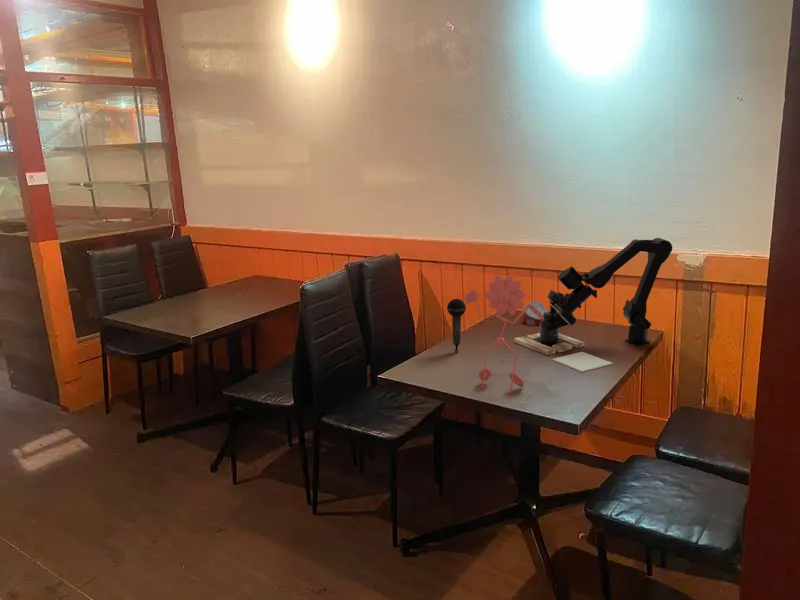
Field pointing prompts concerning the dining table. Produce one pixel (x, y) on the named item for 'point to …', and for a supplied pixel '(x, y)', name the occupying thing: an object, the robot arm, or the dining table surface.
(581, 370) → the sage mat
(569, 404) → the dining table surface
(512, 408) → the dining table surface
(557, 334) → the supplement bottle
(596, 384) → the dining table surface
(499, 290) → the figurine
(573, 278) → the robot arm
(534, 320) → the canned food
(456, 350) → the microphone
